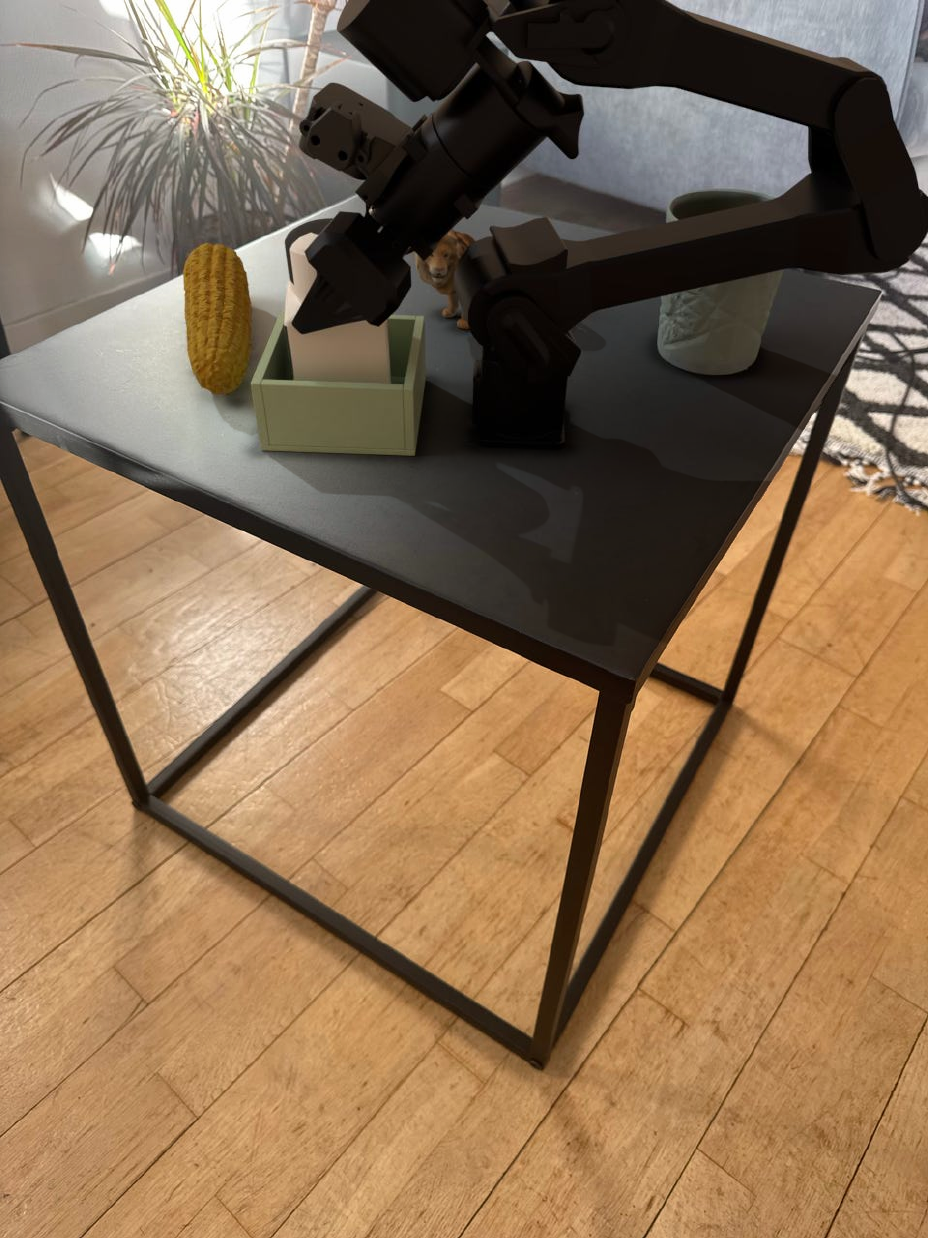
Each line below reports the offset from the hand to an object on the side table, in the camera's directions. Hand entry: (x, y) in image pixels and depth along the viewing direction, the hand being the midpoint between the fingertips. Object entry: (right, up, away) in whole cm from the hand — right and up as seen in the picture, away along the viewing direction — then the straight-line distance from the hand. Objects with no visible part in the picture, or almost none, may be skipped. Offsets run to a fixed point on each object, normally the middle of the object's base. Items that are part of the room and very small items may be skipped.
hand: (316, 301), depth 68 cm
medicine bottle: (+1, -5, +5) cm, 7 cm away
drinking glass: (+32, 0, +14) cm, 34 cm away
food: (-10, 0, +13) cm, 16 cm away
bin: (+2, -7, +5) cm, 9 cm away
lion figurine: (+13, +4, +18) cm, 22 cm away
